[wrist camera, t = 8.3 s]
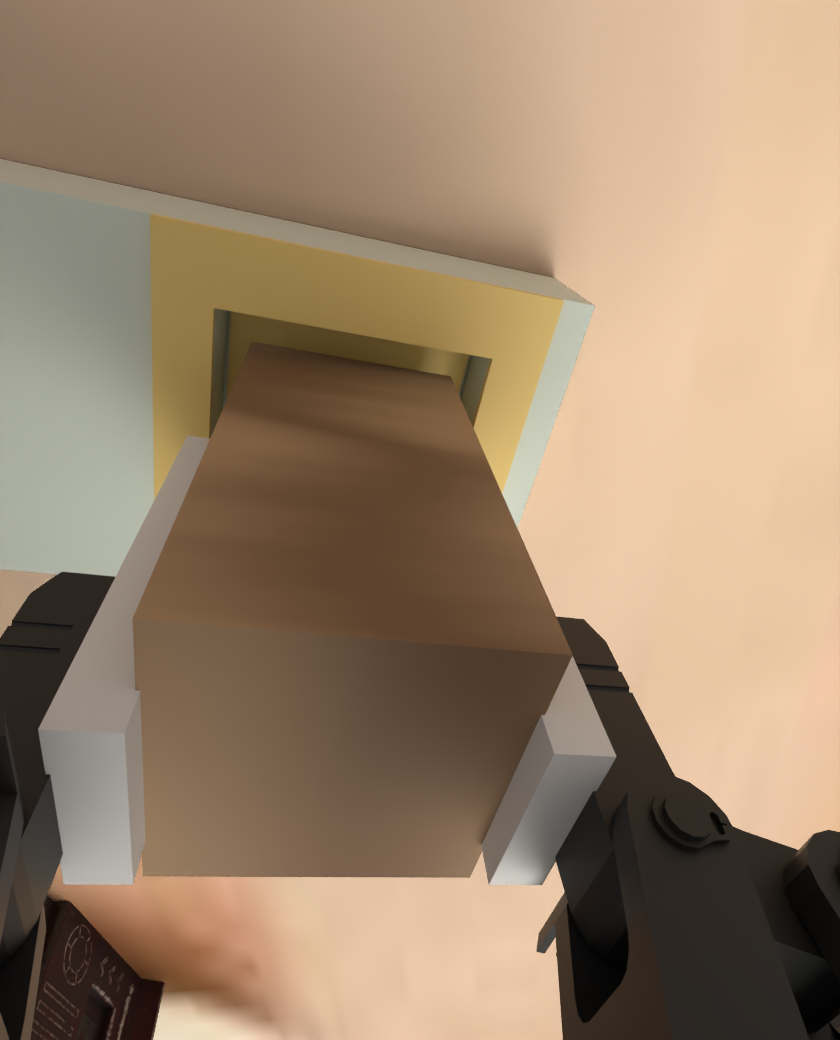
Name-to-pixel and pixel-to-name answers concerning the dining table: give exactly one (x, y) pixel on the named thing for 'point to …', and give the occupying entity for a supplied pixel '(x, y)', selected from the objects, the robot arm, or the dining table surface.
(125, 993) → the crate
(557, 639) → the walnut block
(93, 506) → the sorting tray
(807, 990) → the robot arm
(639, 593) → the dining table surface
